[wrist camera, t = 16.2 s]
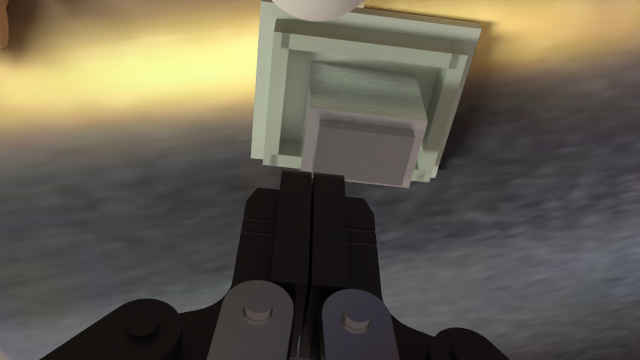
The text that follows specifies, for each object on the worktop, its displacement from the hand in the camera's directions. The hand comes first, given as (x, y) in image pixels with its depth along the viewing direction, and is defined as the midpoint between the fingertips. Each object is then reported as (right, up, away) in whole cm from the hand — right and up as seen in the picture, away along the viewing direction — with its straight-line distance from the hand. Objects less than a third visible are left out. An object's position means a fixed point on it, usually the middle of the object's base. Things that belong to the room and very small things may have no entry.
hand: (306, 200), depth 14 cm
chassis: (+3, +7, +26) cm, 27 cm away
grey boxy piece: (+3, +6, +26) cm, 27 cm away
